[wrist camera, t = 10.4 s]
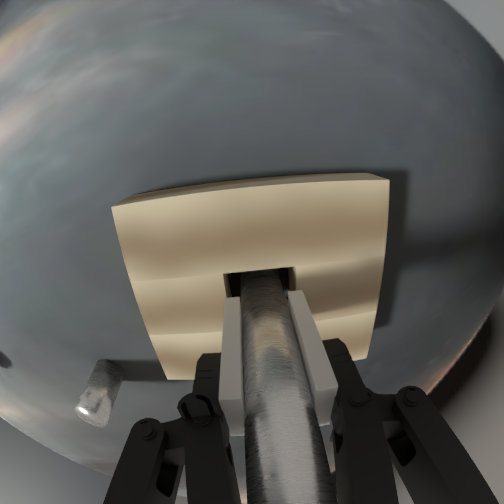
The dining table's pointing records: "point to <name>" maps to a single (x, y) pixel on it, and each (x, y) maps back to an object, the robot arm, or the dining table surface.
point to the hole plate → (254, 255)
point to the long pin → (278, 403)
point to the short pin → (100, 393)
